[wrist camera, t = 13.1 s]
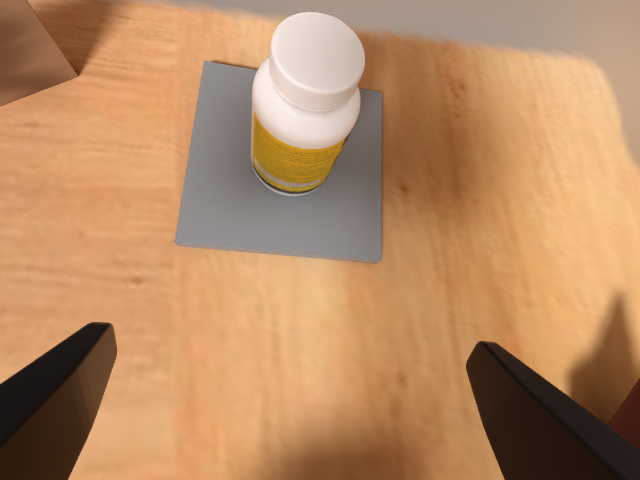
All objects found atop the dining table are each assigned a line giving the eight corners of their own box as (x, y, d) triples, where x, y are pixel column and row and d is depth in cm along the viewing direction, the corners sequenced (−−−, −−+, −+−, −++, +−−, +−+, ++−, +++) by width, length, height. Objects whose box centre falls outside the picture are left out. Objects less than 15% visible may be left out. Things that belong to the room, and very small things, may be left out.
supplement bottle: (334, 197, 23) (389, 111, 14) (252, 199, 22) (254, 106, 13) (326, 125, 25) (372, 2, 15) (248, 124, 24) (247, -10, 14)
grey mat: (376, 263, 24) (381, 260, 23) (178, 245, 22) (174, 242, 21) (377, 100, 27) (382, 92, 26) (205, 70, 25) (204, 60, 24)
